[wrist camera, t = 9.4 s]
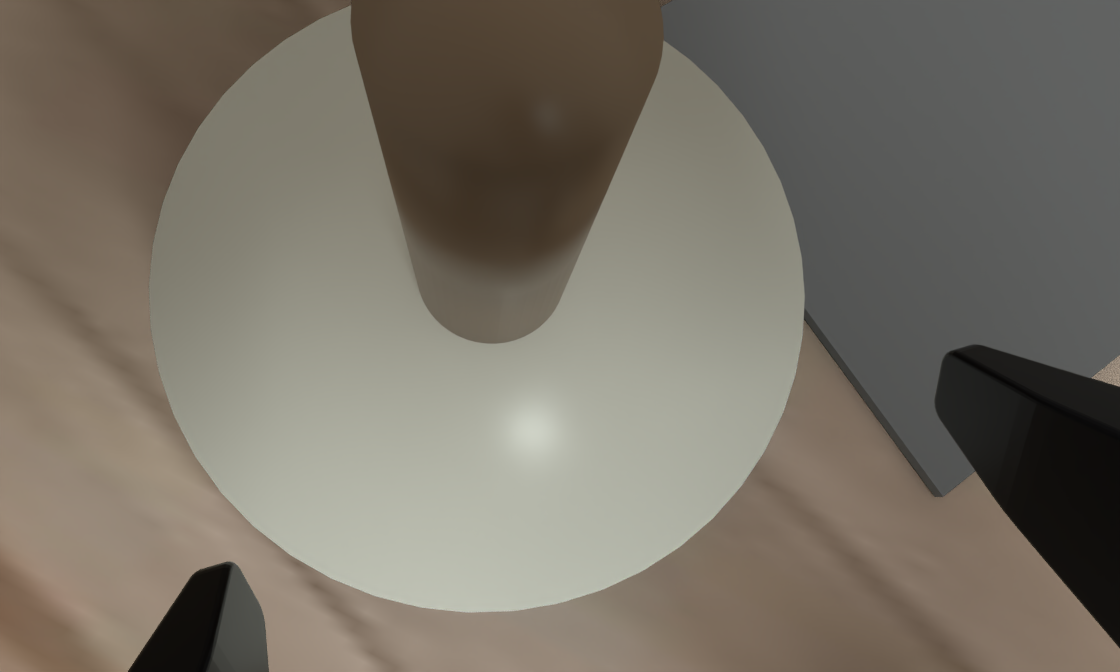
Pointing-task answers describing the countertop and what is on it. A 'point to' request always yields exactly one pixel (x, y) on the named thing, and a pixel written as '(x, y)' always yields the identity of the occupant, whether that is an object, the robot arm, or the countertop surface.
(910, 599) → the countertop surface
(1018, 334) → the mat
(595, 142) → the lid
